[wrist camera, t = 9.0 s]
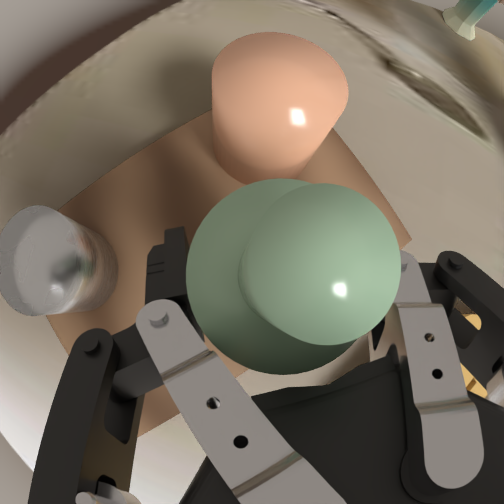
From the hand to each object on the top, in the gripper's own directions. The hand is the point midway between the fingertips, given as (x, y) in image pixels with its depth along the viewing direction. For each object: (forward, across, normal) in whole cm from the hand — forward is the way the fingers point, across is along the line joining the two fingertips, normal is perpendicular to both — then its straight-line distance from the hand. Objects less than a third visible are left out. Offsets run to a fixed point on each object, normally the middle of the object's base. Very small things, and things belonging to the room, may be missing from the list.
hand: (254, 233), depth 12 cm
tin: (+5, +10, +4) cm, 12 cm away
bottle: (+3, 0, +6) cm, 7 cm away
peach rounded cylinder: (+10, -3, 0) cm, 10 cm away
